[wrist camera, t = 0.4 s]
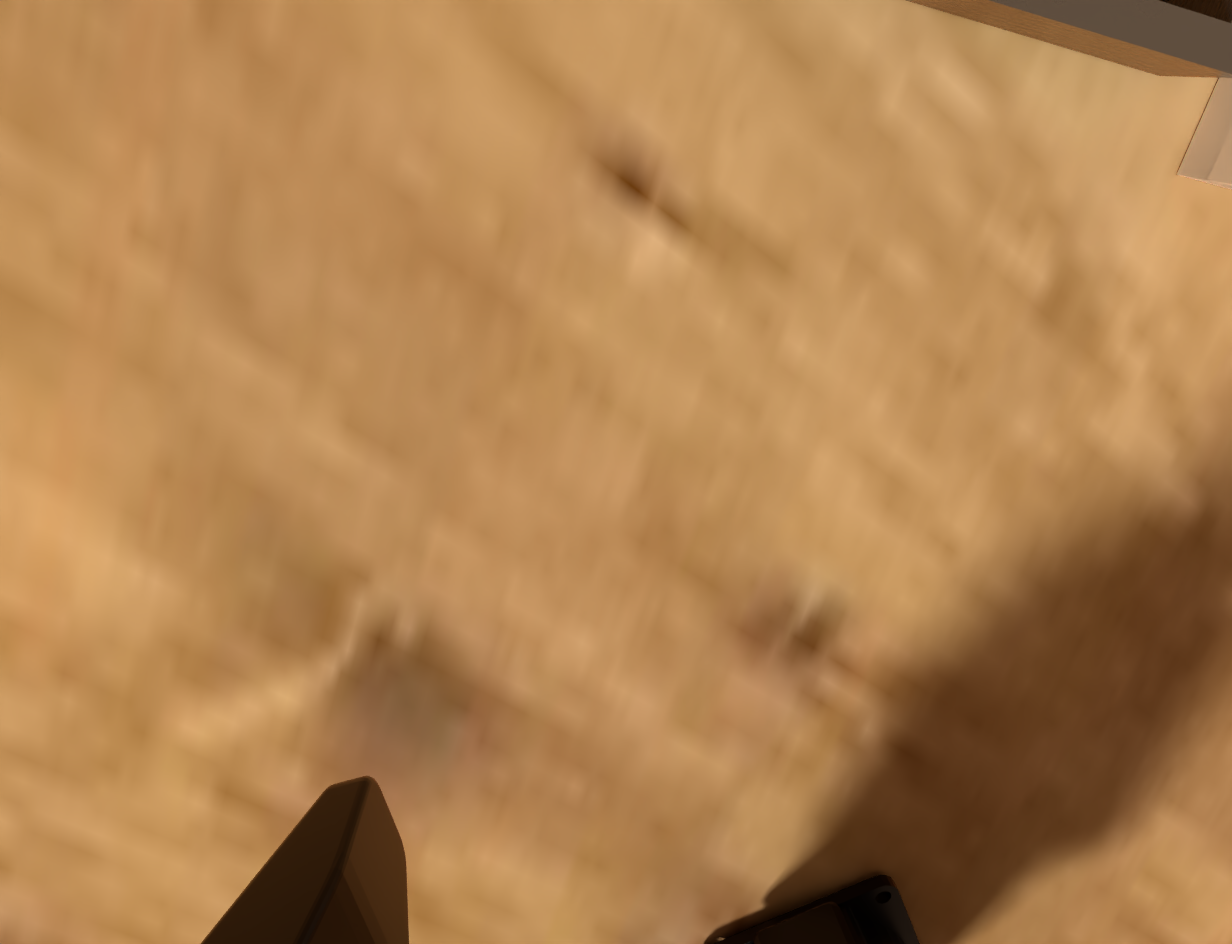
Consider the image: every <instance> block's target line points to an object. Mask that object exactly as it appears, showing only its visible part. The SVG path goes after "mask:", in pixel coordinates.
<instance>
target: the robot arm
mask: <svg viewBox="0 0 1232 944" xmlns="http://www.w3.org/2000/svg"><path fill="white" fill-rule="evenodd" d="M201 944H409V931H408V902H407V874H406V859H405V852H404V847H403V844H402V840H401V837H400V835H399V832H398V830H397V828H396V825H395V823H394V820H393V818H392V815H391V813H390V811H389V808H388V806H387V803H386V801H385V799H384V796H383V794H382V791H381V789H380V787H379V785H378V783H377V782H376V781H375V779H374V778H372V777H369V776H363V777H359V778H355V779H352V780H348V781H344V782H340V783H337V784H334V785H331V786H329V787H328V788H327V789H326V790H325V791H324V792H323V793H322V794H321V796H320V797H319V798H318V799H317V800H316V802H315V803H314V804H313V805H312V807H311V808H310V809H309V810H308V812H307V813H306V814H305V815H304V817H303V818H302V819H301V820H300V822H299V823H298V824H297V825H296V826H295V828H294V829H293V830H292V831H291V833H290V834H289V835H288V836H287V838H286V839H285V840H284V841H283V843H282V844H281V845H280V846H279V847H278V849H277V850H276V851H275V852H274V854H273V855H272V856H271V857H270V859H269V860H268V861H267V862H266V864H265V865H264V866H263V867H262V868H261V870H260V871H259V872H258V873H257V875H256V876H255V877H254V878H253V880H252V881H251V882H250V883H249V885H248V886H247V887H246V888H245V889H244V891H243V892H242V893H241V894H240V896H239V897H238V898H237V899H236V901H235V902H234V903H233V904H232V906H231V907H230V908H229V909H228V911H227V912H226V913H225V914H224V915H223V917H222V918H221V919H220V920H219V922H218V923H217V924H216V925H215V927H214V928H213V929H212V930H211V932H210V933H209V934H208V935H207V936H206V938H205V939H204V940H203V941H202V943H201ZM715 944H919V941H918V939H917V936H916V934H915V931H914V929H913V926H912V924H911V921H910V919H909V916H908V914H907V911H906V909H905V906H904V904H903V901H902V899H901V896H900V894H899V891H898V889H897V887H896V885H895V883H894V881H893V880H892V879H891V877H889V876H886V875H879V876H875V877H872V878H870V879H867V880H865V881H863V882H860V883H858V884H856V885H853V886H851V887H848V888H846V889H844V890H841V891H839V892H836V893H834V894H832V895H829V896H827V897H825V898H822V899H820V900H817V901H815V902H813V903H810V904H808V905H805V906H803V907H801V908H798V909H796V910H793V911H791V912H789V913H786V914H784V915H782V916H779V917H777V918H774V919H772V920H770V921H767V922H765V923H762V924H760V925H758V926H755V927H753V928H750V929H748V930H746V931H743V932H741V933H739V934H736V935H734V936H731V937H729V938H727V939H724V940H722V941H719V942H717V943H715Z"/></svg>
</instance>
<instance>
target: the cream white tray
mask: <svg viewBox="0 0 1232 944" xmlns="http://www.w3.org/2000/svg"><path fill="white" fill-rule="evenodd" d="M1177 175H1180V176H1183V177H1187V178H1191V179H1194V180H1198V181H1202V182H1205V183H1209V184H1213V185H1216V186H1220V187H1224V188H1228V189H1231V190H1232V78H1219V79H1218V81H1217V83H1216V86H1215V88H1214V90H1213V93H1212V95H1211V97H1210V99H1209V102H1208V104H1207V106H1206V109H1205V111H1204V113H1203V115H1202V118H1201V120H1200V122H1199V125H1198V127H1197V129H1196V131H1195V134H1194V136H1193V138H1192V141H1191V143H1190V145H1189V147H1188V150H1187V152H1186V154H1185V156H1184V159H1183V161H1182V163H1181V166H1180V168H1179V170H1178V172H1177Z"/></svg>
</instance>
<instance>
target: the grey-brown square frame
mask: <svg viewBox="0 0 1232 944" xmlns="http://www.w3.org/2000/svg"><path fill="white" fill-rule="evenodd" d="M907 1H910V2H914V3H917V4H920V5H924V6H927V7H930V8H934V9H937V10H940V11H944V12H947V13H951V14H954V15H957V16H961V17H964V18H967V19H971V20H974V21H977V22H981V23H984V24H987V25H991V26H994V27H998V28H1001V29H1004V30H1008V31H1011V32H1014V33H1018V34H1021V35H1024V36H1028V37H1031V38H1035V39H1038V40H1041V41H1045V42H1048V43H1051V44H1055V45H1058V46H1061V47H1065V48H1068V49H1071V50H1075V51H1078V52H1082V53H1085V54H1088V55H1092V56H1095V57H1098V58H1102V59H1105V60H1108V61H1112V62H1115V63H1119V64H1122V65H1125V66H1129V67H1132V68H1135V69H1139V70H1142V71H1145V72H1149V73H1152V74H1155V75H1159V76H1183V77H1217V78H1232V0H907Z"/></svg>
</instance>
